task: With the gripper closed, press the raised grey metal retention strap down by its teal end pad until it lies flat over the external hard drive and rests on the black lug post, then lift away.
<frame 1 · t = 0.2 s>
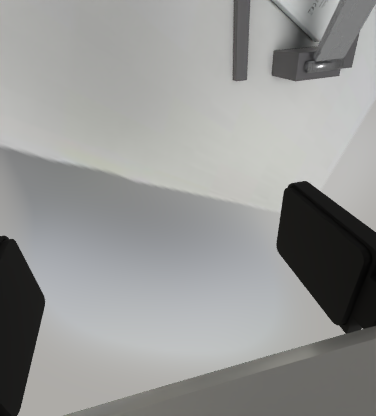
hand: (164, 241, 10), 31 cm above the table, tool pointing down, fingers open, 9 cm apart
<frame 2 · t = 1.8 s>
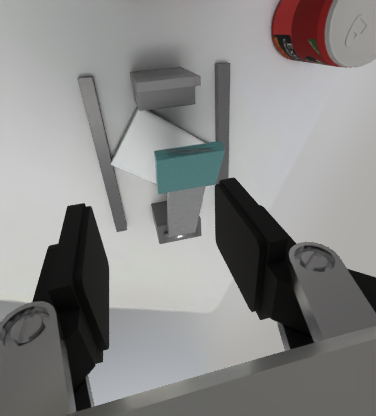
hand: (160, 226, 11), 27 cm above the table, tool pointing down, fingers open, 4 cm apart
canned food: (298, 22, 34), on the table
socket frame: (165, 154, 38), on the table
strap: (184, 204, 30), point 11 cm above the table, hinge at 30.0°
external hard drive: (165, 154, 38), resting in socket frame
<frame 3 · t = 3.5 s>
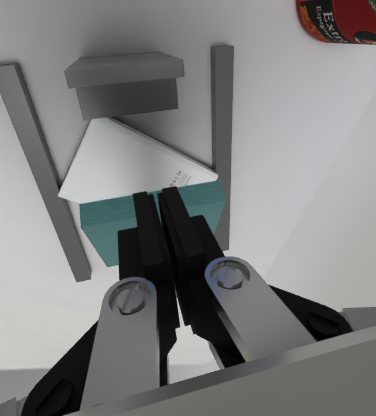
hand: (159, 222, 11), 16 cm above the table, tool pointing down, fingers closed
socket frame: (141, 178, 27), on the table
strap: (160, 268, 19), point 11 cm above the table, hinge at 29.3°, touching gripper
external hard drive: (140, 178, 27), resting in socket frame
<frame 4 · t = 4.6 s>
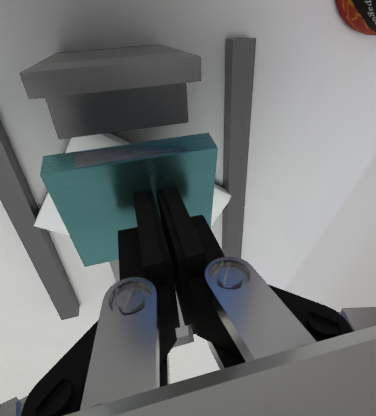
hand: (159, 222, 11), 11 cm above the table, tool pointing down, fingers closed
socket frame: (137, 199, 22), on the table
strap: (155, 287, 16), point 9 cm above the table, hinge at 12.2°, touching gripper
external hard drive: (137, 199, 22), resting in socket frame
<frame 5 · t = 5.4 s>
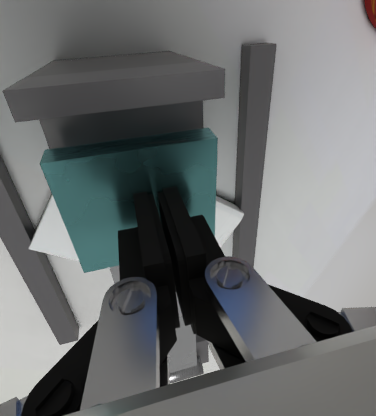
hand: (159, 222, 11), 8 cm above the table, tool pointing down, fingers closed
socket frame: (142, 217, 20), on the table
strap: (159, 303, 15), point 7 cm above the table, hinge at 4.1°, touching gripper
external hard drive: (142, 217, 20), resting in socket frame
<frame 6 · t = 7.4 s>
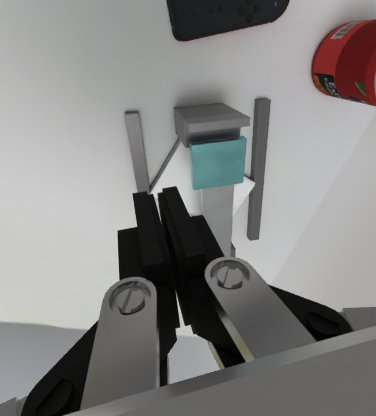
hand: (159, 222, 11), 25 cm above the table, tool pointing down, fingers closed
canned food: (337, 61, 34), on the table
socket frame: (201, 184, 39), on the table
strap: (216, 214, 33), point 7 cm above the table, hinge at 4.0°
external hard drive: (201, 184, 39), resting in socket frame
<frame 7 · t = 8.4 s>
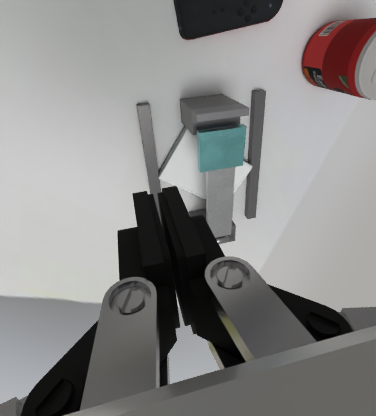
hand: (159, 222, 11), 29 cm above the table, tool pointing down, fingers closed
canned food: (324, 55, 39), on the table
socket frame: (204, 168, 43), on the table
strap: (219, 193, 37), point 7 cm above the table, hinge at 4.0°
external hard drive: (204, 168, 43), resting in socket frame
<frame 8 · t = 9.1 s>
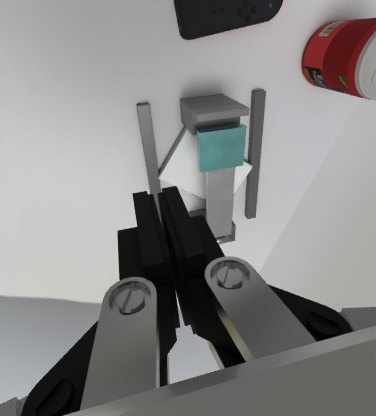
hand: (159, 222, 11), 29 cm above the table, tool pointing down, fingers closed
canned food: (324, 55, 39), on the table
socket frame: (204, 168, 43), on the table
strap: (219, 193, 37), point 7 cm above the table, hinge at 4.0°
external hard drive: (204, 168, 43), resting in socket frame
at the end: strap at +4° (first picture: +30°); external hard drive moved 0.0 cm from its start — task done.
